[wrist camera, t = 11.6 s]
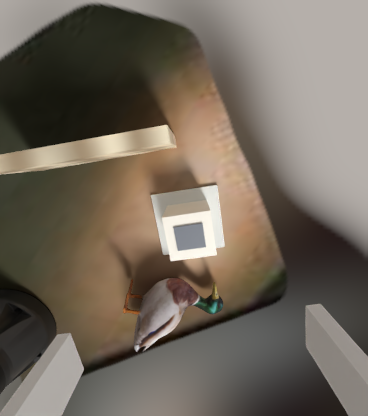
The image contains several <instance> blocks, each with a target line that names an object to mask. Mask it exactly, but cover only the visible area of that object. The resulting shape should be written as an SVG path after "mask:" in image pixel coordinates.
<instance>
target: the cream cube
mask: <svg viewBox="0 0 368 416" xmlns="http://www.w3.org/2000/svg"><path fill="white" fill-rule="evenodd" d="M162 221H163V226H164V231H165V236H166V241H167V245H168V250H169V255H170V260H171V261H177V260H184V259H192V258H199V257H206V256H214V255H217V253H216V246H215V239H214V231H213V224H212V217H211V210H210V208H209V205H208V202H207V200H202V201H195V202H189V203H182V204H176V205H169V206H167V207H166V210H165V212H164V214H163V216H162Z"/></svg>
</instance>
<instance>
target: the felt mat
mask: <svg viewBox="0 0 368 416" xmlns="http://www.w3.org/2000/svg"><path fill="white" fill-rule="evenodd" d="M151 199H152V204H153V208H154V213H155V218H156V223H157V228H158V232H159V237H160V242H161V247H162V251H163V255H168V254H169V250H168V245H167V241H166V236H165V231H164V226H163V221H162V216H163V214H164V212H165V210H166V207H167V206H169V205H176V204H182V203H189V202H195V201H202V200H207V202H208V205H209V208H210V210H211V217H212V224H213V231H214V239H215V246H216V248H219V247H225V245H224V237H223V228H222V220H221V212H220V204H219V195H218V187H217V185H212V186H205V187H199V188H193V189H186V190H180V191H173V192H167V193H161V194H154V195H151Z"/></svg>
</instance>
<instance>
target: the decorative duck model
mask: <svg viewBox="0 0 368 416" xmlns="http://www.w3.org/2000/svg"><path fill="white" fill-rule="evenodd" d="M132 285H133V279H132V280H131V283H130V288H129V291H128V293H127V297H126V301H125V305H124V308H123V313H127V312H128V313H133V314H138V318H137V323H136V329H135V336H134V347H135V350H136V352H137V351H138V350H139V349H140V348H141V347H145V348H144V350H146V349H147V348H148V347H149V346H150V345H152V344H153V343H154V342H155V341H156V340H157V339H159V338H161V337H162V336H164V335H166V334H168V333H169V332H171V331H172V330H173V329H174V328H175V327H176V326H177V325H178V323H179V321H180V320H181V318H182V316H183V314H184V311H185V309H186V308H187V307H188V306H190V305H194V306H196V307H198V308H200V309H202V310H204V311H205V312H207V313H209V314H215V313H217V312H219V311H221V309H222V307H223V301H222V299H221V298H220V296H219V295H218V293H217V288H216V284H215V282H213V291H212V295H210V296H209V297H208V298H206V299H204V298H202V297H201V296H200V295H199V294H198V293H197V292H196V291H195V290H194V289H193V288H192V287H191V286H190V285H189V284H188V283H187V282H185V281H184V280H182V279H180V278H167V279H164V280H161V281H159V282H157V283H156V284H155V285H154V286H153V287H152V288H151V289H150V290H149V291H148V292H147V293H146V294H145V295H143V296H141V295H133V294H131V290H132ZM133 297H134V298H140V299H142V300H143V301H142V304H141V306H140V309H139V311H135V310H130V309H128V308H127V304H128V298H133ZM144 350H143V351H144ZM143 351H142V352H143Z"/></svg>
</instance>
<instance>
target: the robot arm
mask: <svg viewBox="0 0 368 416" xmlns="http://www.w3.org/2000/svg"><path fill="white" fill-rule="evenodd" d="M55 336H56V325H55V321H54V319H53V316H52V315H51V313H50V312H49V310H48V309H47V308H46V307H45V306H44V305H43V304H42V303H41V302H40V301H38V300H37V299H36V298H34V297H32V296H30V295H28V294H26V293H23V292H20V291H16V290H9V289H2V290H0V394H1V392H2V391H3V390H4V389H5V387H7V386H8V385H9V384H10V383H11V382H12V381H14V380H15V379H16V378H17V377H19V376H20V375H21V374H22V373H23V372H25V371H26V370H27V369H28V368H30V367H31V366H32V365H33V364H34V363H35V362H37V361H38V362H37V363H36V364H35V366H34V367H33V369H32V370H31V371H30V373H29V374H28V375H27V377H26V378H25V379H24V381H23V382H22V384H21V385H20V386H19V388H18V389H17V390H16V392H15V393H14V394H13V396H12V397H11V399H10V400H9V401H8V403H7V404H6V405H5V407H4V408H3V410H2V411H1V412H0V416H61V415H62V413H63V411H64V409H65V407H66V405H67V403H68V401H69V399H70V397H71V395H72V393H73V391H74V389H75V387H76V385H77V383H78V381H79V379H80V377H81V375H82V372H83V370H84V368H83V365H82V363H81V360H80V357H79V355H78V352H77V349H76V347H75V344H74V342H73V339H72V336H71V334H70V333H66V334H58V335H57V336H56V337H55ZM306 347H307V349H308V350H309V352H310V354H311V355H312V357H313V358H314V360H315V361H316V363H317V365H318V367H319V368H320V370H321V371H322V373H323V374H324V376H325V378H326V379H327V381H328V383H329V384H330V386H331V388H332V389H333V391H334V392H335V394H336V395H337V397H338V399H339V400H340V402H341V403H342V405H343V407H344V409H345V410H346V412H347V413H348V415H349V416H368V357H367V355H366V354H365V353H364V352H363V351H362V350H361V349H360V348H359V347H358V345H357V344H356V343H355V342H354V341H353V340H352V339H351V338H350V336H349V335H348V334H347V333H346V332H345V331H344V330H343V329H342V327H341V326H340V325H339V324H338V323H337V322H336V321H335V320H334V318H333V317H332V316H331V315H330V314H329V313H328V312H327V311H326V310H325V308H324V307H323V306H322V305H321V304H315V305H307V306H306Z"/></svg>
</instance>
